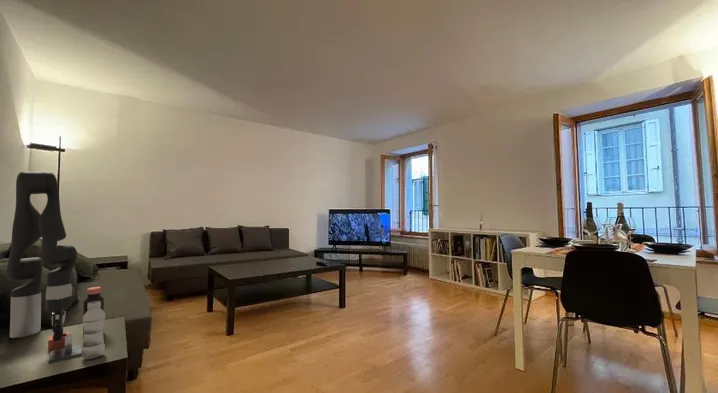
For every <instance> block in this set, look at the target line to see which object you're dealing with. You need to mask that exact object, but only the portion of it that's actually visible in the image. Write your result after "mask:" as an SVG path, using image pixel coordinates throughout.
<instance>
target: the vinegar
mask: <svg viewBox="0 0 718 393" xmlns="http://www.w3.org/2000/svg"><path fill="white" fill-rule="evenodd" d="M101 294H102V287H101V286H93V287H89V288H86V296H87V297H86V298H85V299H84V300H83V313H82V314H83V316H84V315H85V313H86V312H87V311H88V309H87V307H88V305H87V304H88V303H89V302H94V301H101V307H100V308H101V309H102V310H103V311H104V312H105V308H104V307H105V299H104V297H103V296H102V295H101ZM82 328H83V327H82ZM104 328H105V327H104ZM104 328H103V332H104V331H105V330H104ZM82 336H83V337H84V328H83V329H82Z"/></svg>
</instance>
